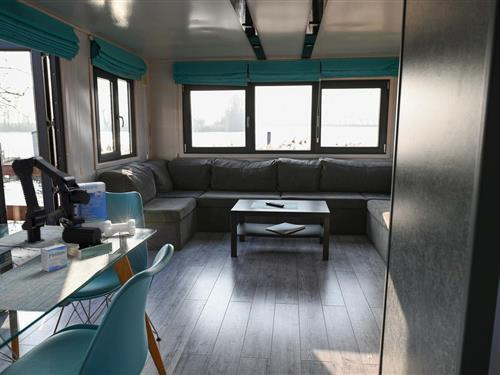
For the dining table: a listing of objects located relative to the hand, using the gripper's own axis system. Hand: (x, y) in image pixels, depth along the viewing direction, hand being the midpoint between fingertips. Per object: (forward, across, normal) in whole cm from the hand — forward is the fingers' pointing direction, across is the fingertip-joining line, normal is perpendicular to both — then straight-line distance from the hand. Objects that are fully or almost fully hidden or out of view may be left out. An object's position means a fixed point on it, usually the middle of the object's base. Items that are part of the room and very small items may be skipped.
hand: (69, 236), depth 178 cm
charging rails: (+4, +11, 0) cm, 12 cm away
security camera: (+4, +12, +1) cm, 12 cm away
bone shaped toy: (+4, +3, +25) cm, 25 cm away
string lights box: (+4, -12, +19) cm, 23 cm away
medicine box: (+4, +24, -19) cm, 31 cm away
